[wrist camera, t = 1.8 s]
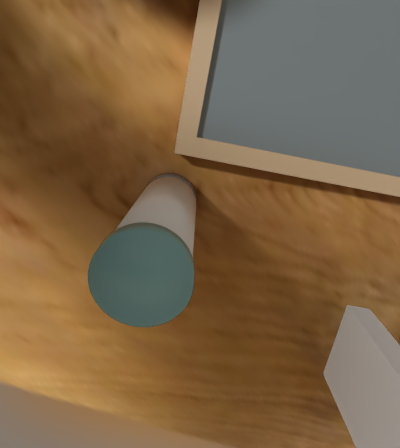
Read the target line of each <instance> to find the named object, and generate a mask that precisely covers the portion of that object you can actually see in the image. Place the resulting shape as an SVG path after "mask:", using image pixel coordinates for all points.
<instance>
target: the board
mask: <svg viewBox="0 0 400 448" xmlns="http://www.w3.org/2000/svg"><path fill="white" fill-rule="evenodd" d="M174 153H176V154H182V155H187V156H192V157H197V158H202V159H207V160H212V161H218V162H223V163H228V164H233V165H238V166H243V167H248V168H254V169H259V170H264V171H269V172H274V173H279V174H284V175H290V176H295V177H300V178H305V179H310V180H315V181H320V182H326V183H331V184H336V185H341V186H346V187H351V188H356V189H362V190H367V191H372V192H377V193H382V194H387V195H392V196H398V197H400V0H200V2H199V8H198V14H197V20H196V26H195V32H194V37H193V43H192V49H191V55H190V61H189V67H188V73H187V79H186V85H185V91H184V97H183V103H182V109H181V115H180V121H179V127H178V133H177V139H176V145H175V150H174Z"/></svg>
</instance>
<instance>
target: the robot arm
mask: <svg viewBox="0 0 400 448" xmlns="http://www.w3.org/2000/svg"><path fill="white" fill-rule="evenodd" d="M323 375H324V377H325V380H326V382H327V384H328V386H329V389H330V391H331V393H332V395H333V398H334V400H335V402H336V404H337V407H338V409H339V411H340V413H341V416H342V418H343V420H344V422H345V424H346V427H347V429H348V431H349V433H350V436H351V438H352V440H353V442H354V445H355V447H356V448H400V345H399V344H398V342H397V341H396V340H395V339H394V338H393V336H392V335H391V334H390V333H389V331H388V330H387V329H386V328H385V327H384V325H383V324H382V323H381V322H380V321H379V319H378V318H377V317H376V316H375V315H374V313H373V312H372V311H371V310H370V309H367V308H362V307H356V306H351V305H347V307H346V310H345V313H344V315H343V318H342V321H341V324H340V327H339V330H338V332H337V335H336V338H335V341H334V344H333V347H332V349H331V352H330V355H329V358H328V361H327V364H326V366H325V369H324V372H323Z"/></svg>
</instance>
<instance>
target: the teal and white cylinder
mask: <svg viewBox="0 0 400 448" xmlns="http://www.w3.org/2000/svg"><path fill="white" fill-rule="evenodd" d="M196 202H197V197H196V192H195V189H194V187H193V185H192V184H191V183H190V181H189V180H188V179H186V178H185V177H183V176H181V175H179V174H175V173H164V174H161V175H158V176H156V177H155V178H154V179H152V180H151V181H150V183H149V184H148V185H147V187H146V188H145V190H144V191H143V192H142V194H141V195H140V196H139V198H138V199H137V201H136V202H135V203H134V205H133V206H132V208H131V209H130V210H129V212H128V213H127V214H126V216H125V217H124V219H123V220H122V221H121V223H120V224H119V225H118V227H117V228H116V230H115V231H114V232H112V233H111V234H110V235H109V236H108V237H107V238H106V239H105V240H104V242H103V243H102V244H101V246H100V247H99V248H98V250H97V251H96V252H95V254H94V256H93V257H92V259H91V262H90V265H89V270H88V284H89V288H90V291H91V294H92V296H93V298H94V300H95V302H96V303H97V304H98V306H99V307H100V308H101V309H102V310H103V311H104V312H105V313H106V314H107V315H109V316H110V317H111V318H113V319H115V320H117V321H119V322H121V323H123V324H126V325H130V326H135V327H152V326H157V325H161V324H164V323H166V322H168V321H170V320H172V319H173V318H175V317H176V316H178V315H179V314H180V313H181V312H182V311H183V310H184V308H185V307H186V306H187V304H188V303H189V301H190V298H191V296H192V292H193V287H194V261H193V247H194V232H195V217H196Z"/></svg>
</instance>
